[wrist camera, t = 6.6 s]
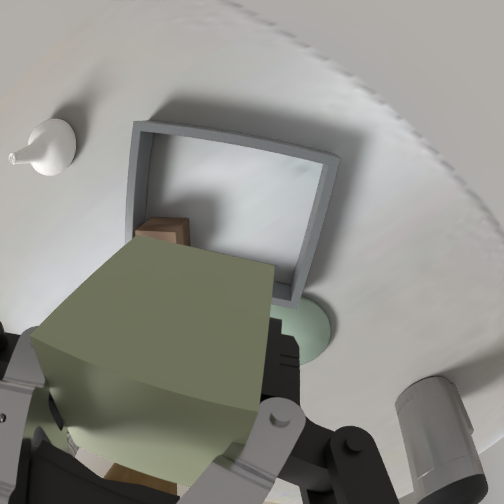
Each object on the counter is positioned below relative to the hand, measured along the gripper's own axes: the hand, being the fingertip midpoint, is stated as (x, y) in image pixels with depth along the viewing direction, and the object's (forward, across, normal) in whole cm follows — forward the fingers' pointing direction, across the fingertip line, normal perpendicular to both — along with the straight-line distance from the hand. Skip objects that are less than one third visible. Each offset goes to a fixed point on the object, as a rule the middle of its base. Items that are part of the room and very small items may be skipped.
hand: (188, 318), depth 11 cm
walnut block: (+19, +7, +6) cm, 21 cm away
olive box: (+1, 0, 0) cm, 1 cm away
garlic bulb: (+19, +22, -2) cm, 30 cm away
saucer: (+19, -7, +14) cm, 25 cm away
